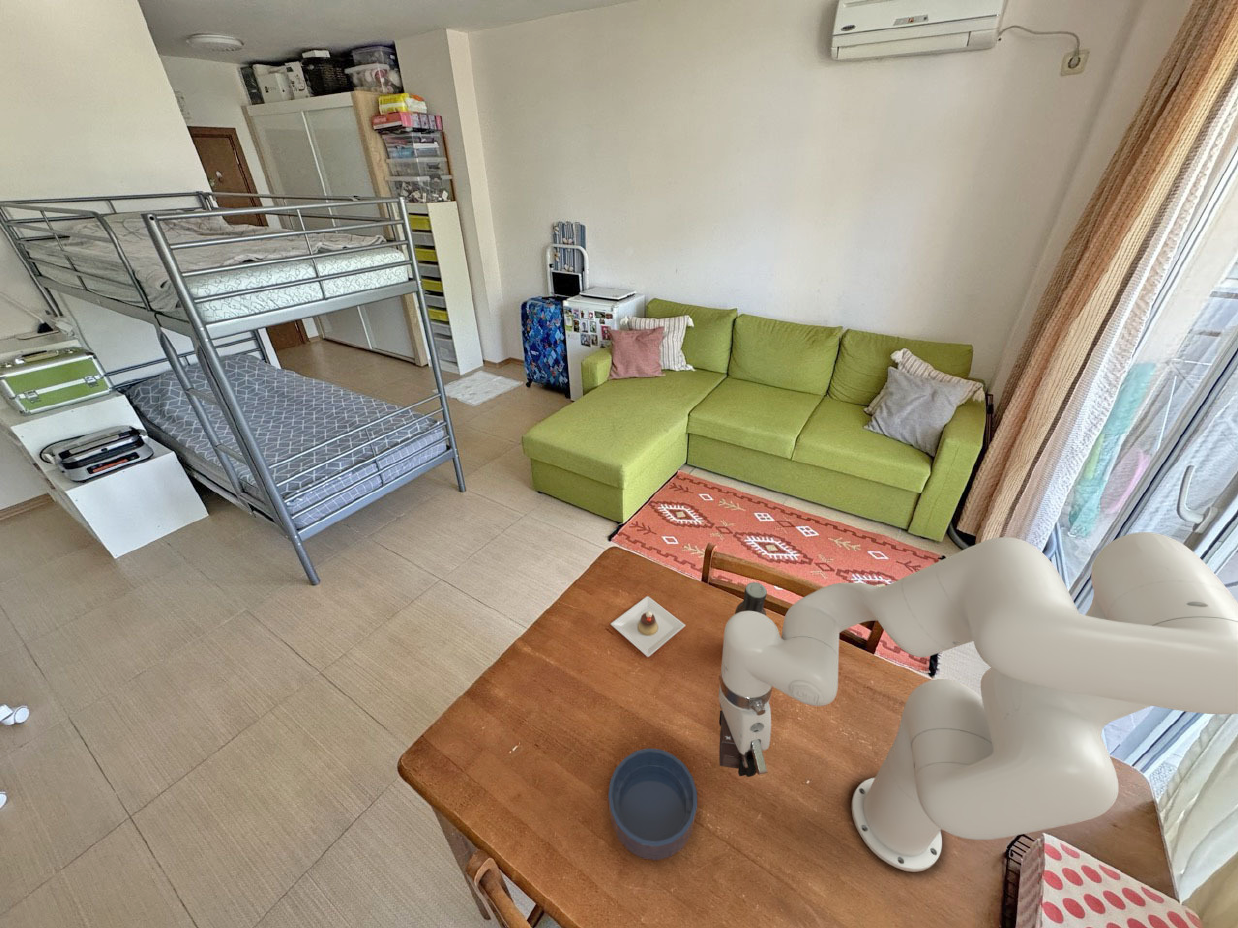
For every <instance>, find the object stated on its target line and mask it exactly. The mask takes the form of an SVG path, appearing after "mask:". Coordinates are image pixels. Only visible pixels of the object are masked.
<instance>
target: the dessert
mask: <svg viewBox="0 0 1238 928" xmlns="http://www.w3.org/2000/svg"><path fill="white" fill-rule="evenodd" d="M610 625H611V627H613V628H614V629H615V630H616V631H618V633H620V634H621V635H622V636H623V637H625V639H627V640H628V641H629V642H630V643H631V644H632V645H634V646H635V647H636V648H637V649H638V650H639V651H640V652H641V653H642V654H643V655H645V656H646V657H647V658H649V657H651V656H652V655H653V654H654V653H655V652H656V651H658V649H660V648H661V647H662V646H664V645H665V644H666V643H667V642H668V641H669V640H671V639H672V638H673V637H674V636H675V635H677V634H678V633H679V632H680V631H681V630H683V629H684V627H686V624H685V623H684V622H682V621H681V620H680V619H679V618H677V616H674V614H672V613H671V612H669V611H668V610H667V609H665V608H664V607H663V606H661V605H660V604H659V603H657V602H656V601H655V600H654V599H652V598H651V597H650V596H648V595H647V596H645V597H644V598H643V599H641V600H640V601H639V602H637V603H636V604H635V605H633V606H632V607H630V609H627V610H626V611H625V612H623V613H622V614H621V615H620V616H618V617H617V618H616V619H615V620H613V621H612V622H610Z"/></svg>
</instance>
